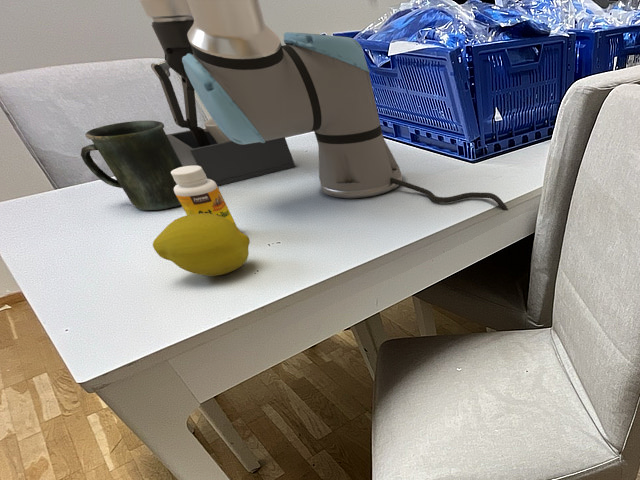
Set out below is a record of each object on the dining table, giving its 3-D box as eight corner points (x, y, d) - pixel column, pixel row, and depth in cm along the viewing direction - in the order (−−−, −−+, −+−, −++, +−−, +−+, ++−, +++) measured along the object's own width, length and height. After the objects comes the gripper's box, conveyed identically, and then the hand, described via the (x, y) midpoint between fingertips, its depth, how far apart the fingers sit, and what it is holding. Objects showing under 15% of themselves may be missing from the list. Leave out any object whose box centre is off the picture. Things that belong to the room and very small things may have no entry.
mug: (188, 209, 80) (147, 134, 72) (100, 217, 78) (46, 140, 70) (209, 188, 88) (173, 118, 79) (128, 195, 86) (83, 124, 78)
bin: (295, 166, 97) (282, 131, 92) (209, 188, 88) (190, 150, 83) (265, 151, 105) (252, 118, 100) (184, 170, 96) (165, 134, 92)
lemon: (267, 255, 66) (241, 200, 61) (255, 281, 61) (226, 223, 55) (188, 264, 65) (154, 208, 59) (169, 291, 59) (130, 233, 54)
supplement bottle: (213, 249, 68) (174, 178, 61) (195, 240, 71) (156, 171, 63) (247, 236, 71) (214, 167, 64) (229, 228, 74) (196, 161, 67)
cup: (256, 165, 94) (232, 122, 88) (209, 172, 94) (182, 130, 88) (264, 152, 99) (242, 111, 92) (219, 159, 98) (195, 118, 92)
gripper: (226, 13, 86) (276, 144, 102) (101, 22, 76) (178, 166, 92) (240, 15, 82) (289, 151, 98) (111, 25, 72) (189, 174, 88)
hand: (236, 158), depth 95 cm, fingers closed on cup, 7 cm apart
